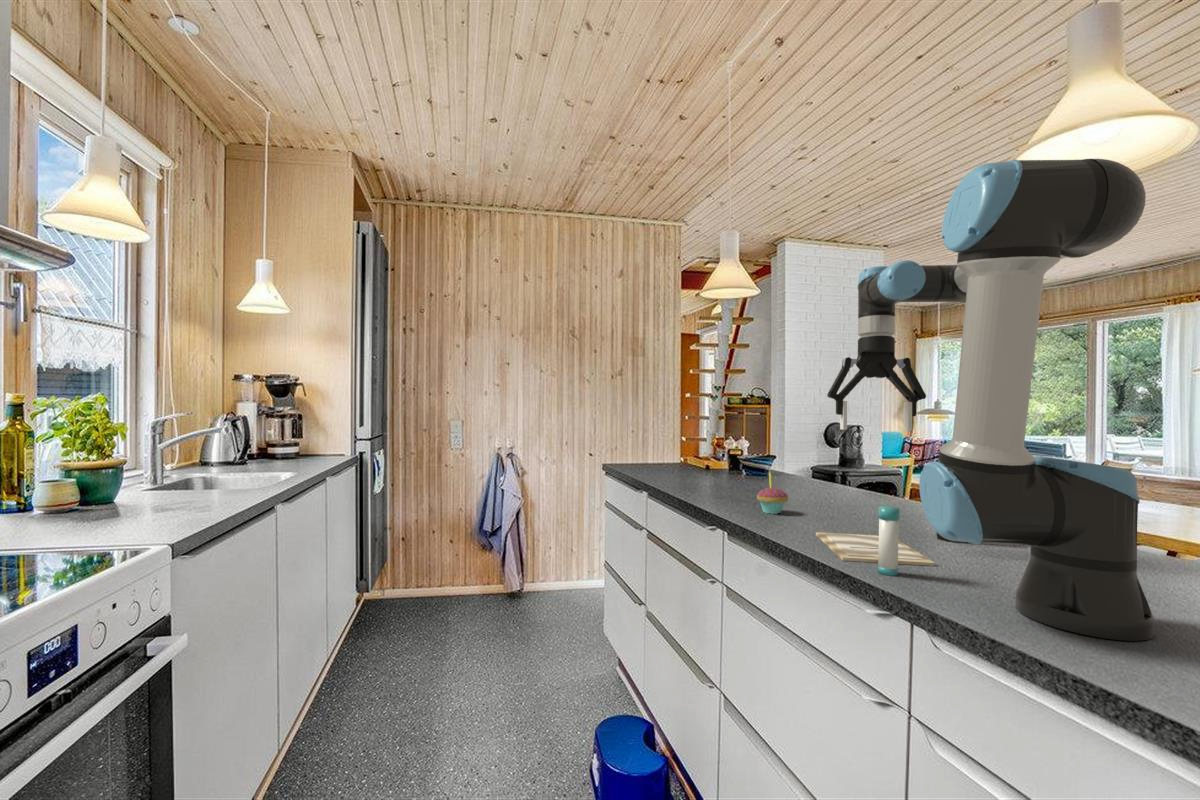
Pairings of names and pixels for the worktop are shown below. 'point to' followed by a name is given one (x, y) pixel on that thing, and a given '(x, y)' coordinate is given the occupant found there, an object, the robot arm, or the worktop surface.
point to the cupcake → (772, 499)
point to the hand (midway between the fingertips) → (875, 430)
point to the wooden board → (868, 549)
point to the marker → (888, 540)
